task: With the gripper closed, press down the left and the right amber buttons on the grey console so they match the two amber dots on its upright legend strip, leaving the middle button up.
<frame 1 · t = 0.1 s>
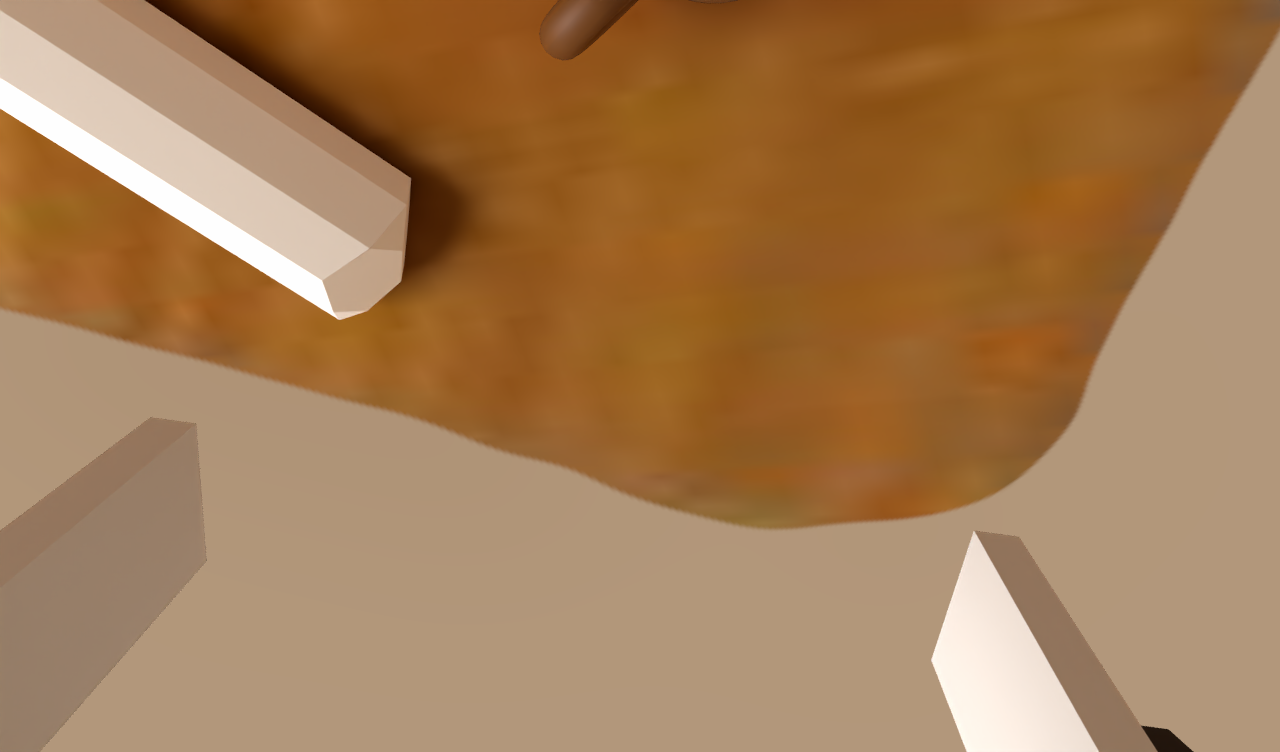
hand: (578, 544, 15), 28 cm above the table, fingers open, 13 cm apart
crystal: (196, 118, 40), on the table
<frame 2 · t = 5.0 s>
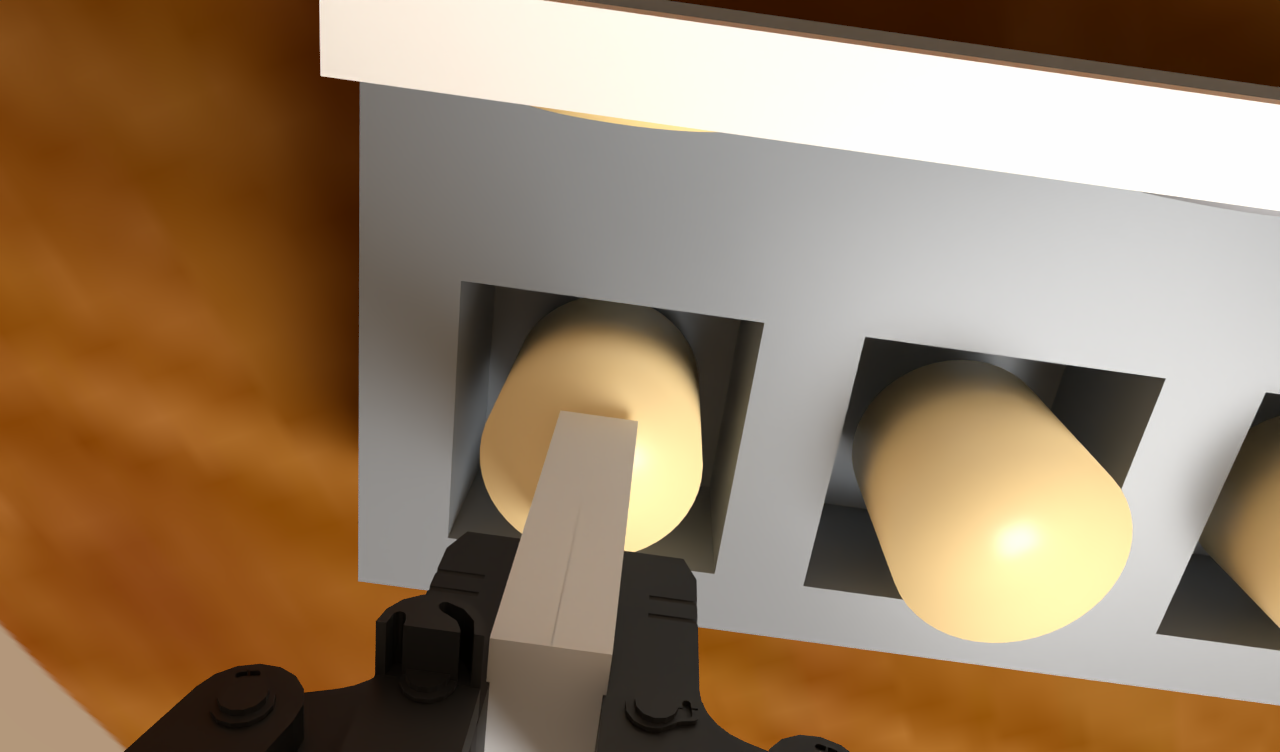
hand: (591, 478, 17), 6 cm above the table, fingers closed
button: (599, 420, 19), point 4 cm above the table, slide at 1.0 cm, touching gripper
console: (934, 321, 22), on the table
button middle: (976, 493, 18), point 5 cm above the table, slide at 0.0 cm
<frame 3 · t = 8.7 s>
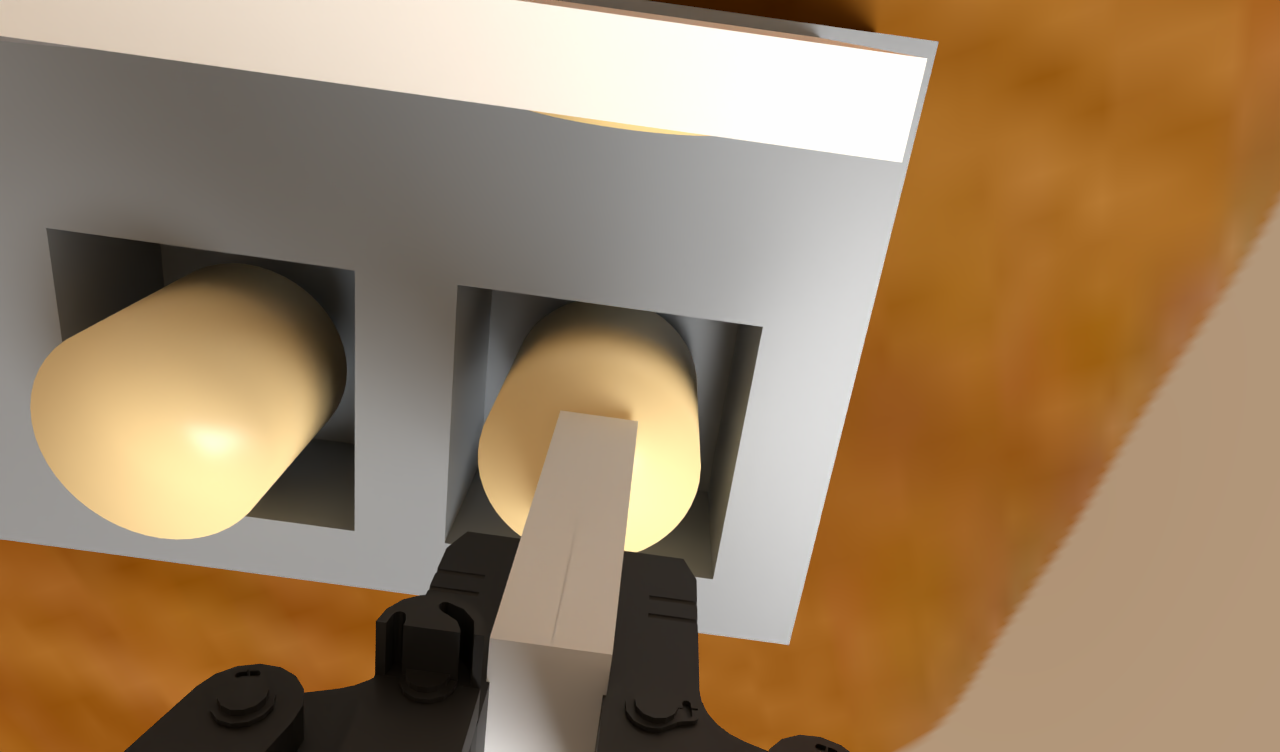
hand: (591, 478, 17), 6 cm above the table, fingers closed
console: (304, 237, 22), on the table
button middle: (205, 393, 18), point 5 cm above the table, slide at 0.0 cm
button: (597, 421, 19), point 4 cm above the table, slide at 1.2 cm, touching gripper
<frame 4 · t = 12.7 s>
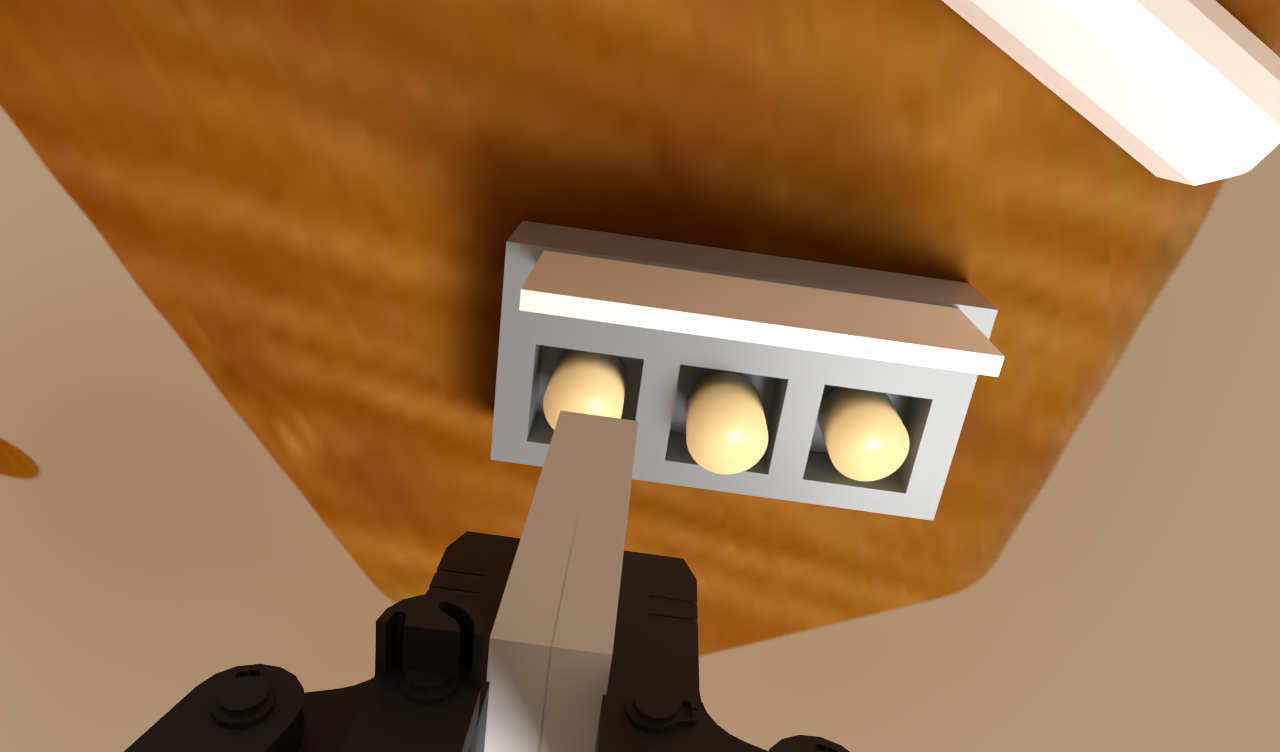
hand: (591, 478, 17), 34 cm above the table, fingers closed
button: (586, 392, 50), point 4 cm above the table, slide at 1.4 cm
console: (727, 355, 53), on the table
button middle: (725, 422, 49), point 5 cm above the table, slide at 0.0 cm
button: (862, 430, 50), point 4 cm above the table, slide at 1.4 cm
crystal: (1068, 3, 45), on the table
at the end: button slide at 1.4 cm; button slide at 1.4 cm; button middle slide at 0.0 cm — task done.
